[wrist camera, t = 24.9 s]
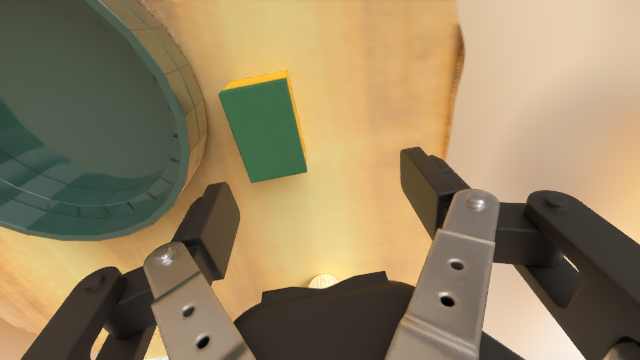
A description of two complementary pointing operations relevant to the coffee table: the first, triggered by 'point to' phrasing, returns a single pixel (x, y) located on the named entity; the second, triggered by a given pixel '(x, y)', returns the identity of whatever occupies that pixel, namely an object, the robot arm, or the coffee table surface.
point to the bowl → (93, 119)
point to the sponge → (265, 125)
